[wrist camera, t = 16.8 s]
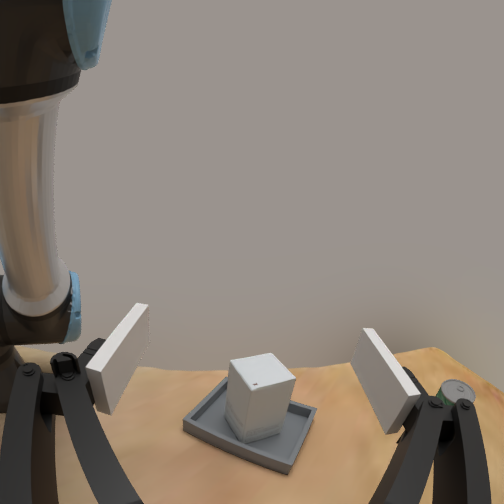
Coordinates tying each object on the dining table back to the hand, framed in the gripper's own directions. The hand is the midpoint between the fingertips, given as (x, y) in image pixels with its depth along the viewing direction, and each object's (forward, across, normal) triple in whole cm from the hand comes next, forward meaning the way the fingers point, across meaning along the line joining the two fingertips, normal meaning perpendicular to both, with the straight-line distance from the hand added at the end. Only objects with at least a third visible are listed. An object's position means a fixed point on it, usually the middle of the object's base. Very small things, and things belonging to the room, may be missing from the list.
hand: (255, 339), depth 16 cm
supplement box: (+18, +4, -29) cm, 34 cm away
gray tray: (+18, +4, -29) cm, 35 cm away
